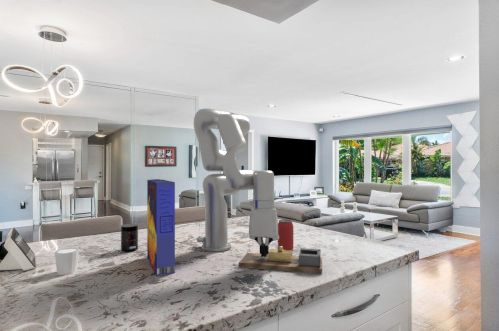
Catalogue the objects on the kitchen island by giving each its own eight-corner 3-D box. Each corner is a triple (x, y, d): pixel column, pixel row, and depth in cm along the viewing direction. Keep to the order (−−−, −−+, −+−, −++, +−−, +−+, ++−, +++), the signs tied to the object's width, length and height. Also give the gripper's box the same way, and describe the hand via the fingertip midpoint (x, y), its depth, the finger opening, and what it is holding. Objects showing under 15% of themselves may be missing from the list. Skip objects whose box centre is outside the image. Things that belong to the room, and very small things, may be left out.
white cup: (61, 277, 93) (61, 254, 93) (50, 273, 97) (50, 251, 97) (83, 270, 99) (83, 249, 99) (72, 267, 103) (72, 246, 103)
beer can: (293, 251, 121) (292, 222, 121) (276, 250, 122) (276, 221, 122) (293, 247, 127) (293, 219, 127) (278, 246, 128) (278, 219, 128)
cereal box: (147, 257, 114) (147, 179, 114) (163, 255, 116) (163, 179, 117) (156, 275, 94) (155, 181, 94) (174, 272, 97) (174, 181, 97)
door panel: (238, 266, 102) (238, 262, 102) (247, 256, 114) (247, 252, 114) (321, 273, 96) (321, 268, 96) (322, 262, 107) (322, 257, 107)
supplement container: (132, 247, 128) (132, 223, 128) (141, 249, 124) (141, 225, 124) (117, 250, 123) (117, 225, 123) (125, 253, 119) (125, 227, 119)
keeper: (298, 265, 99) (298, 255, 99) (300, 257, 107) (300, 248, 107) (320, 267, 97) (320, 256, 97) (320, 259, 106) (320, 249, 106)
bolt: (268, 260, 104) (268, 247, 104) (270, 257, 108) (270, 244, 108) (291, 262, 102) (291, 248, 102) (292, 258, 106) (292, 245, 106)
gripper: (240, 205, 105) (241, 257, 104) (282, 206, 101) (283, 260, 101) (246, 203, 112) (246, 251, 112) (285, 204, 108) (286, 254, 108)
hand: (264, 255), depth 106 cm, fingers closed
